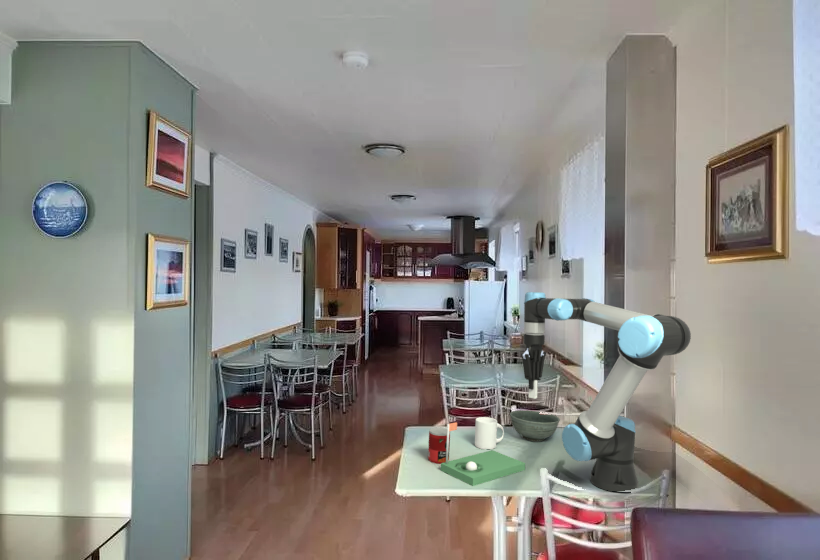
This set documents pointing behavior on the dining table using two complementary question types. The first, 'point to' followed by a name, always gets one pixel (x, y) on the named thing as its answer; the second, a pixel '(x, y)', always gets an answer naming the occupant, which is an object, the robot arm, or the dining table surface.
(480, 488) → the dining table surface
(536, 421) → the bowl
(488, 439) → the mug
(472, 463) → the ball
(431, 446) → the canned food
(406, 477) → the dining table surface
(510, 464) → the putting mat
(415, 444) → the dining table surface
